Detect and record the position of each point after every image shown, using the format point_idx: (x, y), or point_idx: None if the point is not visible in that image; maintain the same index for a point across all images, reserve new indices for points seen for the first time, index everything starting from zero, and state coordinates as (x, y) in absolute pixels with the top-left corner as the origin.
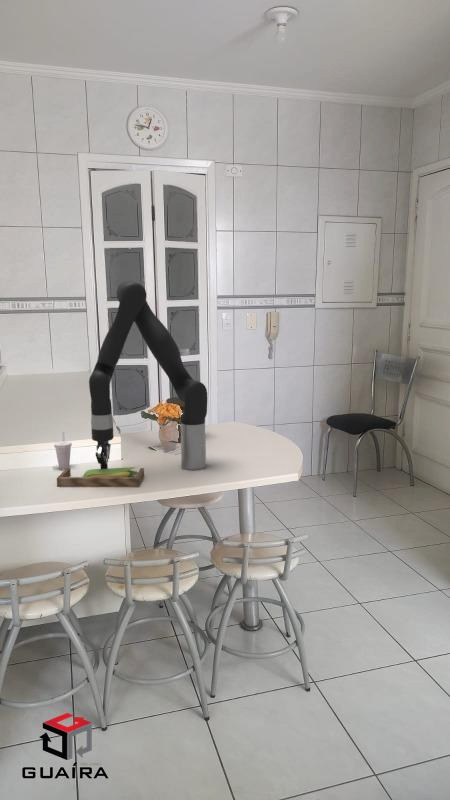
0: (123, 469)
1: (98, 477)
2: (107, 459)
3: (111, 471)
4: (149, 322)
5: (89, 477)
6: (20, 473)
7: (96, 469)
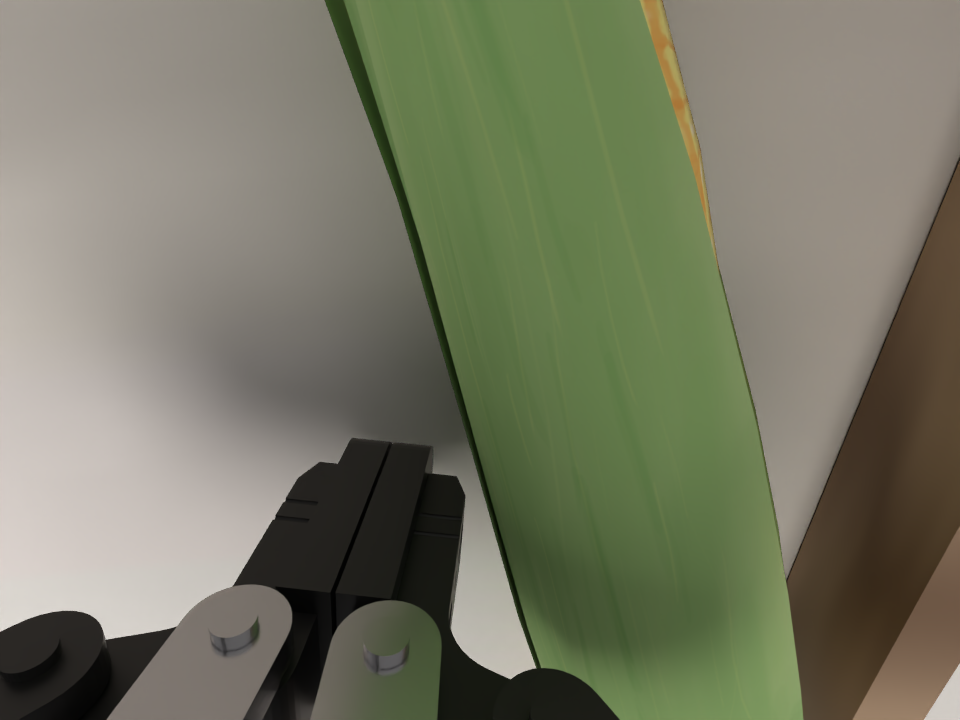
0: (580, 21)
1: (941, 588)
2: (239, 681)
3: (703, 384)
4: None
5: (874, 713)
6: None
7: (668, 716)
